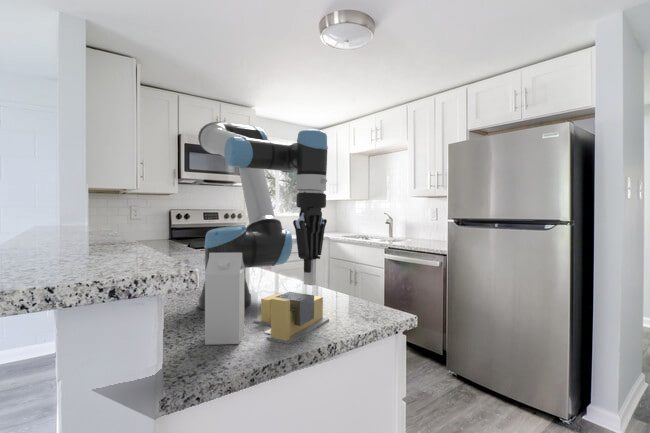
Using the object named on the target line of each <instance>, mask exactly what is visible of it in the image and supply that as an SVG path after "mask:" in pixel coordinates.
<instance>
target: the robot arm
mask: <svg viewBox="0 0 650 433" xmlns="http://www.w3.org/2000/svg"><path fill="white" fill-rule="evenodd" d="M197 140H198V142H199V145H200V147H201V148H202V149H203V151H205V152H207V153H209V154H212V155H220V156H221V157H224V160H225V162H226V164H227V165H228V166H230V167H234V168H238V172H239V178H240V181H241V182H240V183H241V187H242V192H243V196H244V197H243V199H244V203H245V207H246V214H247V218H248V222H249V223H248V224H247V226H245V225H231V226H225V227H224V226H223V227H217V228H213V229H212V228H211V229H210V230H208V231H207V232H206V234H205V237H204V238H205V240H204V246H203V247H204V273H205V272H206V268H207V264H208V260H209V253H242V259H243V263H244V309H245V308H248V307H249V306H251V304H252V294H251V293H250V289H249V287H248V282H247V279H246V269H248V268H258V267H276V266H278V265H284V264H285V263H286V262H288V261H289V259H290V257H291V253H292V251H293V236H292V233H291V231H290V230H289V229H287V228H283V227H282V221H281V220H279V219H278V218H276V216H275V212H274V208H273V203H272V199H271V194H270V191H269V186H268V181H267V177H266V173H265V170H268V171H279V172H282V173H290V174H291V173H294V172H295V173H296V191H297V192H298V193H297V194H296V207H297V208H298V209H300V210H299V217H298V219H295V220H293V221H292V223H293V227H294V229H295V230H294V231H295V238H296V246H297V255H298V257H299V259H300V260H303V285H305V286H316V283H317V282H316V281H317V259H318V260H320V259H321V255H322V251H323V243H324V235H325V230H326V225H327V223H328V221H327V219H326V218H323V212H322V209H325V208H326V207H327V194H326V193H324V192H326V191H327V182H328V179H327V171H328V170H327V168H328V149H329V147H328V135H327V133H326V132H325V131H323V130H321V129H302V130H300V131H299V132H298V134H297V139H296V142H295V143H286V142H282V141H281V142H279V141H273V140H272V141H271V140H269V139H268V136H267V133H266V132H265V130H264V129H262V127H258V126H255V125H244V124H238V123H232V122H228V121H227V122H226V121H212V122H209V123H207V124H205V125H204V126H202V127H201V128H200V129H199V132H198V138H197ZM198 308H199V309H200V310H203V311H205V281H204V282H203V286H202V289H201V292H200V296H199V297H198Z"/></svg>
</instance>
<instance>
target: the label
mask: <svg viewBox="0 0 650 433" xmlns="http://www.w3.org/2000/svg"><path fill="white" fill-rule="evenodd" d="M263 334H268V335H271V328H269V329H267V330H265V331H264V332H263Z"/></svg>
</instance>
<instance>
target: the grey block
mask: <svg viewBox="0 0 650 433" xmlns="http://www.w3.org/2000/svg"><path fill="white" fill-rule="evenodd" d="M281 294H282V295H279V296H276V298H283V299H289V300H290V311H294V312H295V316H294V325H297V326H301V325H303V324H305V323H307V322H309V321H311V320H313V319H314V296H315V294H308V293H300V292H295V291H288V292H285V293H281Z"/></svg>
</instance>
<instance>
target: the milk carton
mask: <svg viewBox="0 0 650 433" xmlns="http://www.w3.org/2000/svg"><path fill="white" fill-rule="evenodd" d="M204 282H205V310H204V344H205V345H206V346H207V345H213V346H214V345H239V344H240V343H241V341H242V338H243V335H244V333H245V308H244V263H243V259H242V253H209V260H208V264H207V268H206V272H205V271H204Z"/></svg>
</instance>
